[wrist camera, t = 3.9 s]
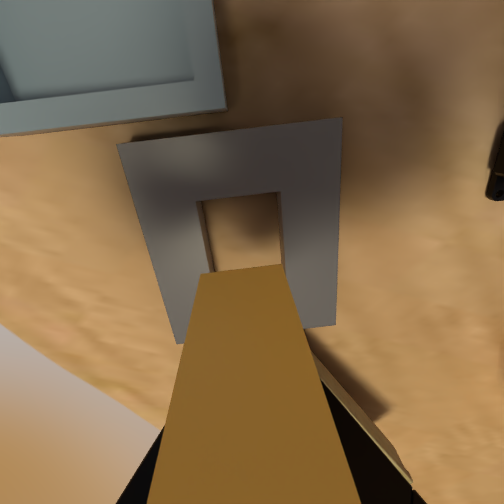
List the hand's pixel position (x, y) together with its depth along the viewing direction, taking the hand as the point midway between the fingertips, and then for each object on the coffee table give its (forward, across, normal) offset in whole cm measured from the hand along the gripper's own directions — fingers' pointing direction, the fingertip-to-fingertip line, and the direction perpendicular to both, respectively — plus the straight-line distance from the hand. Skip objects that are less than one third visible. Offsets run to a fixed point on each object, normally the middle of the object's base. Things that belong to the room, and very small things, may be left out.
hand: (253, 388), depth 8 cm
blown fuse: (+3, 0, 0) cm, 3 cm away
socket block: (+12, 0, 0) cm, 12 cm away
